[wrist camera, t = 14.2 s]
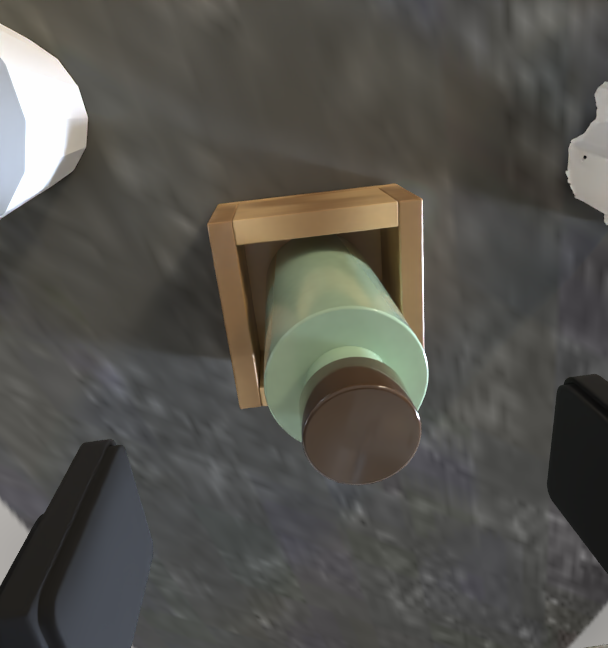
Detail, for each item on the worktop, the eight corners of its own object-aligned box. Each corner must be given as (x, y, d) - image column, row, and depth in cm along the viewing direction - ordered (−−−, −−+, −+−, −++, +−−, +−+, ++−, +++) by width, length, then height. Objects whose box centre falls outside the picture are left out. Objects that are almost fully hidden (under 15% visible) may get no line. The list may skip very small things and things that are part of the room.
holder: (244, 363, 24) (240, 409, 20) (217, 203, 21) (206, 223, 17) (400, 344, 24) (425, 386, 20) (395, 183, 21) (423, 198, 18)
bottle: (272, 336, 23) (276, 527, 12) (258, 238, 21) (248, 362, 11) (372, 324, 23) (459, 503, 12) (366, 225, 21) (463, 336, 11)
